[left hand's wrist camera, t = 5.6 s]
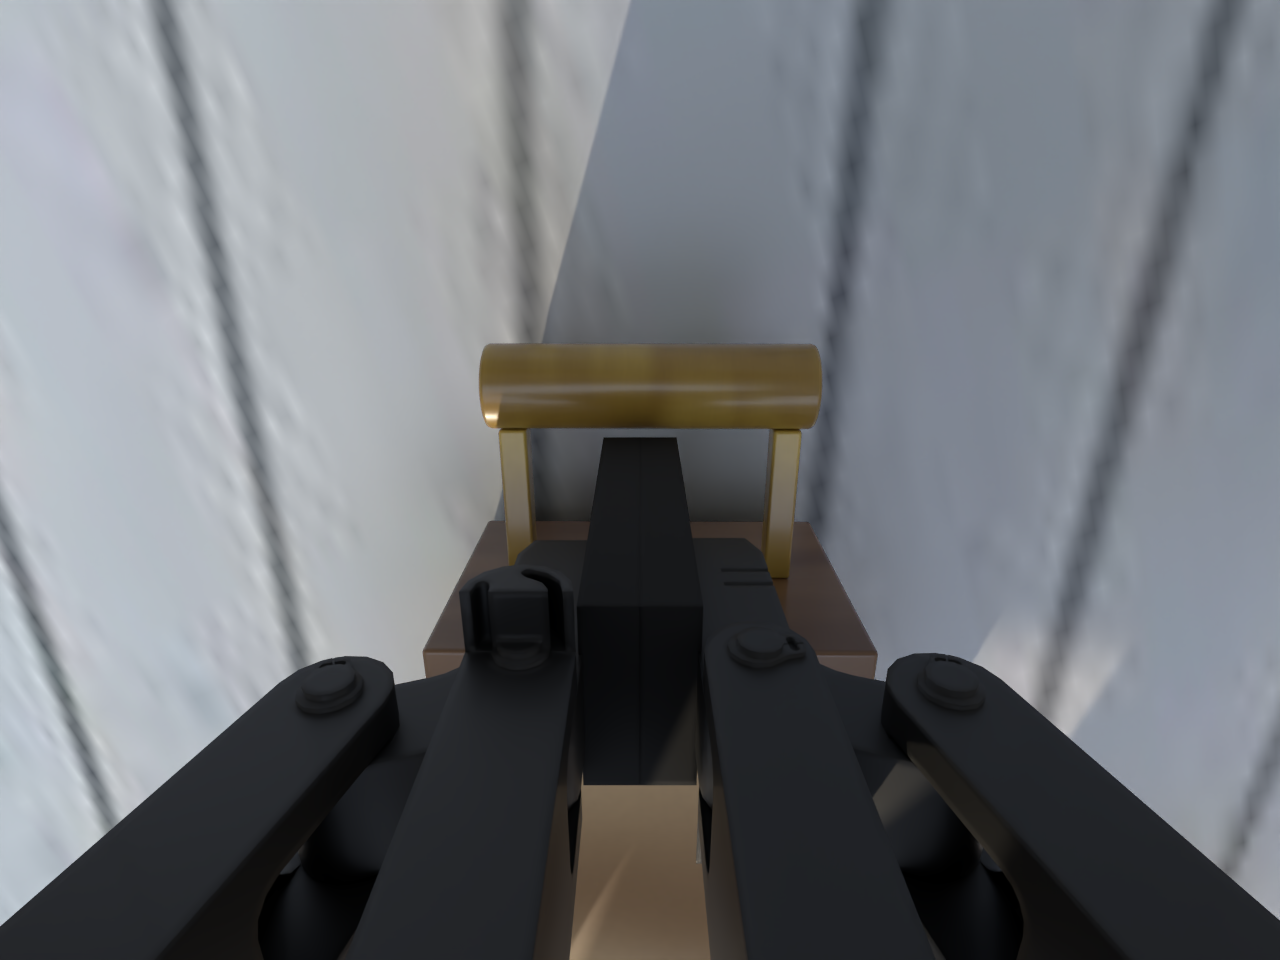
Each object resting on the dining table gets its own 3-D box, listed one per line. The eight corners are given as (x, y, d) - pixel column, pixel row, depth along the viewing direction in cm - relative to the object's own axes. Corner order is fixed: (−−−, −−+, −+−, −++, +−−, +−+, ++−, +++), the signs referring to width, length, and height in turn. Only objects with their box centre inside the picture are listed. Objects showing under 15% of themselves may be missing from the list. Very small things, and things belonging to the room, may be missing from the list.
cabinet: (480, 567, 21) (384, 771, 13) (817, 568, 20) (915, 775, 13) (520, 1004, 28) (474, 1300, 20) (771, 1006, 27) (818, 1304, 20)
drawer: (471, 322, 17) (383, 377, 11) (828, 323, 17) (920, 379, 11) (527, 974, 25) (493, 1192, 20) (766, 976, 25) (800, 1195, 20)
